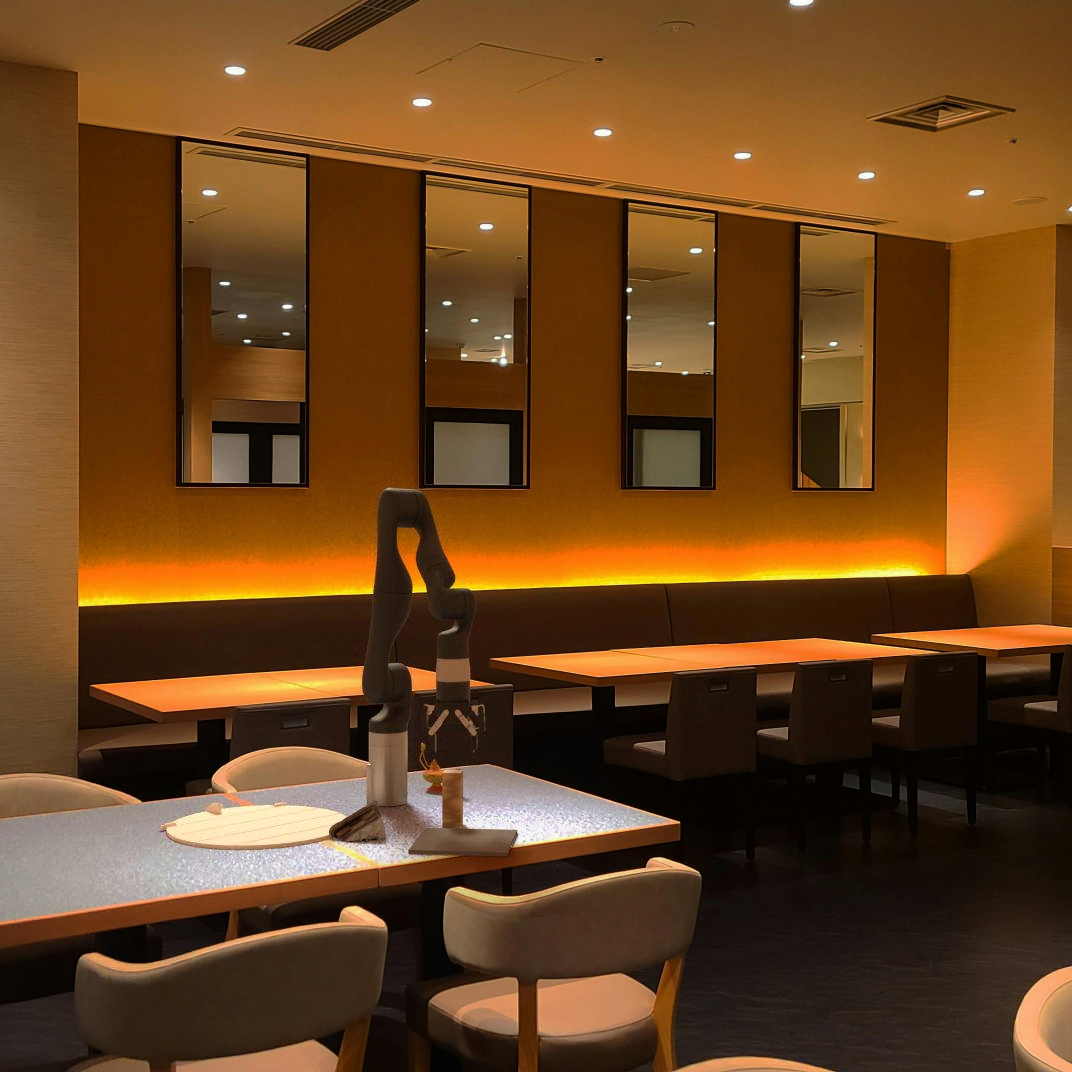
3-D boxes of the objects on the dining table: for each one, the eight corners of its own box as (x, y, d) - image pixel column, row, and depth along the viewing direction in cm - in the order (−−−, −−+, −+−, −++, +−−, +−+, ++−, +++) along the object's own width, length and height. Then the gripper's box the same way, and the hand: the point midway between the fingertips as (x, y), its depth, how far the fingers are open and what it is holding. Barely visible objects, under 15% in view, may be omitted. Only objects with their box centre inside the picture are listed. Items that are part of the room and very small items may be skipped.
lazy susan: (129, 829, 286) (129, 813, 286) (277, 802, 315) (277, 788, 315) (234, 861, 259) (234, 843, 259) (385, 828, 287) (386, 813, 287)
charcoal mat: (408, 853, 263) (408, 849, 263) (425, 831, 283) (425, 827, 283) (507, 856, 262) (507, 852, 262) (517, 833, 282) (517, 829, 282)
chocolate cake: (337, 848, 271) (379, 805, 273) (324, 831, 277) (366, 790, 279) (364, 872, 276) (405, 830, 278) (351, 855, 282) (391, 815, 284)
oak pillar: (442, 827, 287) (442, 772, 287) (445, 823, 291) (445, 769, 291) (460, 827, 287) (460, 773, 287) (462, 823, 291) (463, 769, 291)
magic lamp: (450, 798, 318) (450, 753, 318) (408, 787, 332) (408, 743, 332) (472, 794, 323) (473, 750, 323) (430, 783, 337) (430, 741, 337)
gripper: (418, 680, 286) (418, 754, 286) (482, 680, 284) (483, 755, 284) (424, 676, 293) (424, 749, 293) (487, 676, 292) (487, 749, 292)
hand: (453, 752), depth 289 cm, fingers open, 8 cm apart
